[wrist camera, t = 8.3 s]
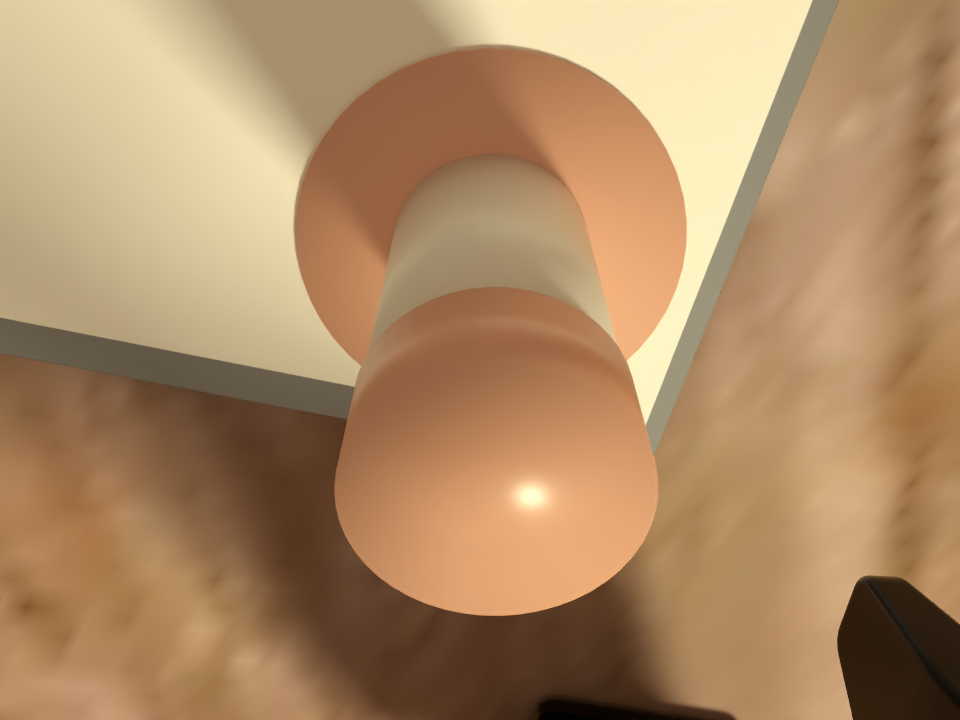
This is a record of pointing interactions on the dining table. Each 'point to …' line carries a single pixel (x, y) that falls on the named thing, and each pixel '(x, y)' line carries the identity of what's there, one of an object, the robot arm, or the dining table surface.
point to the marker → (494, 403)
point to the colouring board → (365, 169)
